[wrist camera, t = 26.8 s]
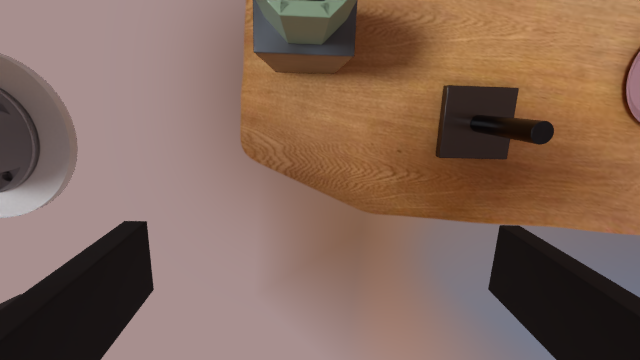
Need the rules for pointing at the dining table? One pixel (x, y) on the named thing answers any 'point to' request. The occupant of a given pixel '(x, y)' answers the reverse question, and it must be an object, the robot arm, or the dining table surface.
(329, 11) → the green octagonal tube
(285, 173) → the dining table surface
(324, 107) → the dining table surface
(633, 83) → the plate
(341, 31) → the stand
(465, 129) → the peg stand
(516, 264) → the robot arm
